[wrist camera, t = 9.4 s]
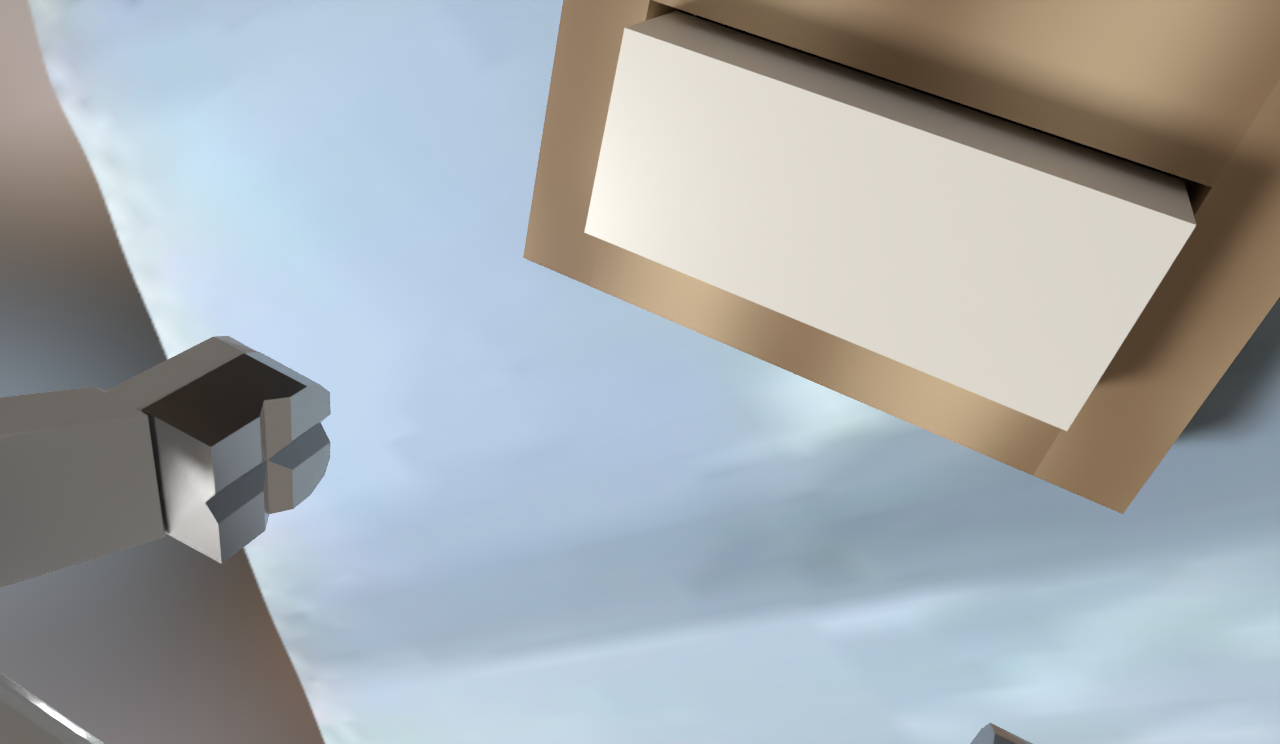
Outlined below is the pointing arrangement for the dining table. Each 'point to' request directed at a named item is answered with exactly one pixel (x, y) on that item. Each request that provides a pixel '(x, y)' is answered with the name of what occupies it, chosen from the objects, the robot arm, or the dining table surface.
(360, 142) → the dining table surface
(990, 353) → the ivory key
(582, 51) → the key console
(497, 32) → the dining table surface
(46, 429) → the robot arm
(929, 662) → the dining table surface
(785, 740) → the dining table surface
